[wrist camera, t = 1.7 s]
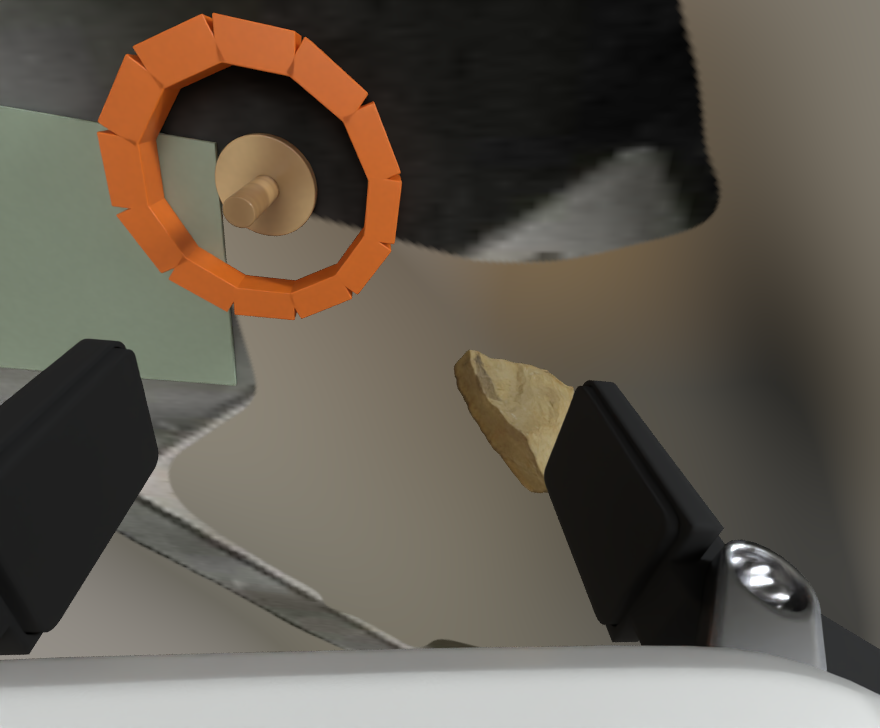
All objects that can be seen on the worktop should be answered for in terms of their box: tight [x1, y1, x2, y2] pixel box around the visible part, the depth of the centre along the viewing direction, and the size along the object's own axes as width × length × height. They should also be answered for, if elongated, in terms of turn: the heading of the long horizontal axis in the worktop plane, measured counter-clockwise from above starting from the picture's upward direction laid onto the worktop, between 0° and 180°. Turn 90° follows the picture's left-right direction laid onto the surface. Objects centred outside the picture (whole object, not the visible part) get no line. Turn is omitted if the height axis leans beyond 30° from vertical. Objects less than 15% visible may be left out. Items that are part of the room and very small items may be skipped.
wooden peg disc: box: [215, 133, 317, 236], centre depth 25 cm, size 6×6×7 cm
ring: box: [97, 13, 402, 320], centre depth 27 cm, size 16×16×2 cm
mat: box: [0, 106, 237, 386], centre depth 29 cm, size 18×18×1 cm
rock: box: [454, 350, 574, 493], centre depth 36 cm, size 11×9×10 cm
